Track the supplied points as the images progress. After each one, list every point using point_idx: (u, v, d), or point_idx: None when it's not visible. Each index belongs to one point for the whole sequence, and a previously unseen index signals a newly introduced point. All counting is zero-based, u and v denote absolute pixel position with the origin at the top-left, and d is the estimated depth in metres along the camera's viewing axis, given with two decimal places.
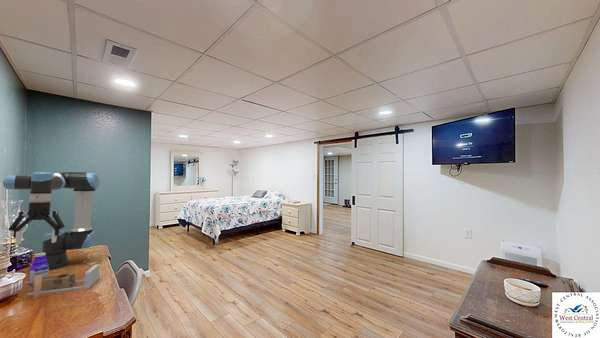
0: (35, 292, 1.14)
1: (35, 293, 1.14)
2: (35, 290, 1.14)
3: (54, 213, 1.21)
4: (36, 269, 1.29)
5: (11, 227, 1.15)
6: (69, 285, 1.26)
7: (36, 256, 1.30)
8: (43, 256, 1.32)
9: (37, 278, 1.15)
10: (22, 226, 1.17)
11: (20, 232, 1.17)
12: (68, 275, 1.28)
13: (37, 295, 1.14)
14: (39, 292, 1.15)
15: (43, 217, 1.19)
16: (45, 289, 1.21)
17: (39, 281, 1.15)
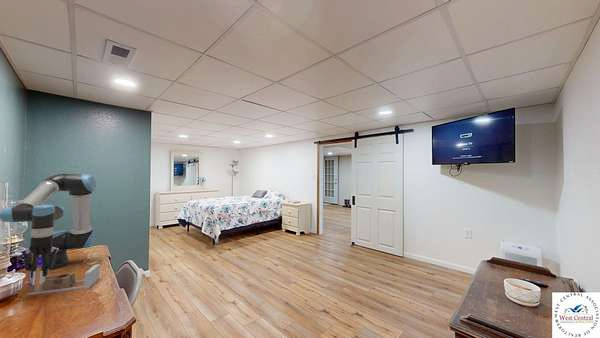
0: (36, 282, 1.15)
1: (36, 283, 1.15)
2: (36, 281, 1.15)
3: (54, 251, 1.17)
4: None
5: (26, 267, 1.13)
6: (69, 285, 1.26)
7: None
8: None
9: (38, 269, 1.15)
10: (35, 264, 1.15)
11: None
12: (68, 275, 1.28)
13: (38, 285, 1.15)
14: None
15: (42, 253, 1.15)
16: (45, 289, 1.21)
17: None
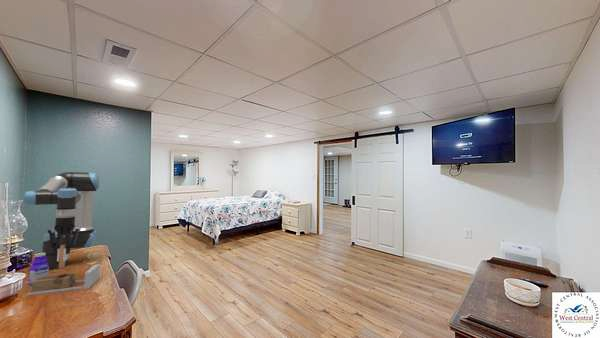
0: (60, 259, 1.25)
1: (60, 260, 1.25)
2: (60, 257, 1.25)
3: (76, 231, 1.28)
4: (36, 269, 1.29)
5: (52, 245, 1.24)
6: (69, 285, 1.26)
7: (36, 256, 1.30)
8: (43, 256, 1.32)
9: (62, 247, 1.26)
10: (59, 242, 1.26)
11: None
12: (68, 275, 1.28)
13: (62, 262, 1.26)
14: None
15: (66, 232, 1.26)
16: (45, 289, 1.21)
17: None
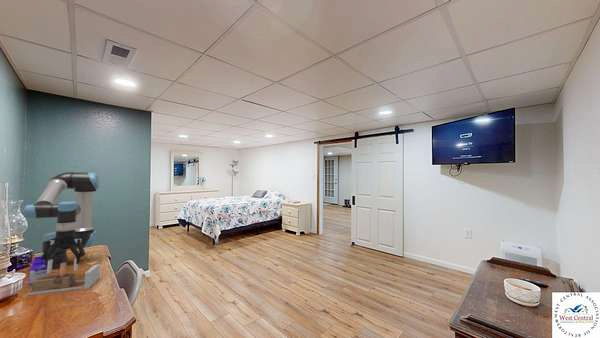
0: None
1: None
2: (60, 276, 1.25)
3: (79, 241, 1.29)
4: (36, 269, 1.29)
5: (43, 256, 1.23)
6: (69, 285, 1.26)
7: (36, 256, 1.30)
8: None
9: (62, 265, 1.26)
10: (52, 254, 1.25)
11: (51, 261, 1.25)
12: (68, 275, 1.28)
13: None
14: None
15: (68, 245, 1.27)
16: (45, 289, 1.21)
17: (64, 268, 1.26)
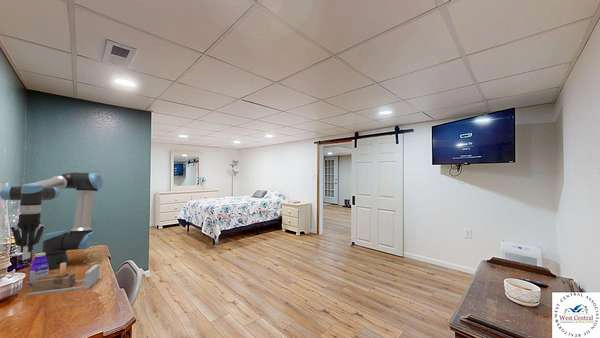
0: None
1: None
2: (60, 276, 1.25)
3: (41, 228, 1.23)
4: (36, 269, 1.29)
5: (17, 242, 1.19)
6: (69, 285, 1.26)
7: (36, 256, 1.30)
8: (43, 256, 1.32)
9: (62, 265, 1.26)
10: (25, 239, 1.21)
11: None
12: (68, 275, 1.28)
13: None
14: None
15: (30, 229, 1.21)
16: (45, 289, 1.21)
17: (64, 268, 1.26)
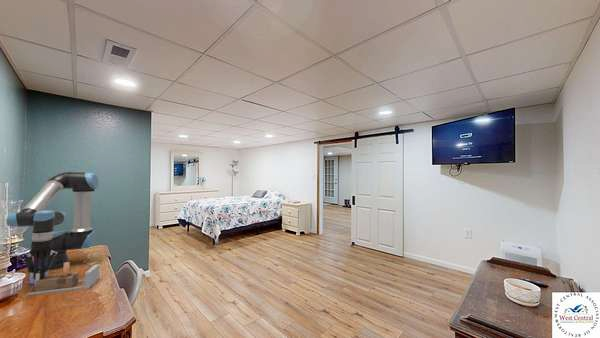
0: None
1: None
2: (64, 276, 1.26)
3: (53, 255, 1.24)
4: None
5: (29, 269, 1.21)
6: (72, 284, 1.27)
7: None
8: None
9: (65, 265, 1.26)
10: (37, 266, 1.22)
11: None
12: (71, 275, 1.28)
13: None
14: None
15: (42, 256, 1.22)
16: (49, 289, 1.21)
17: (67, 267, 1.27)
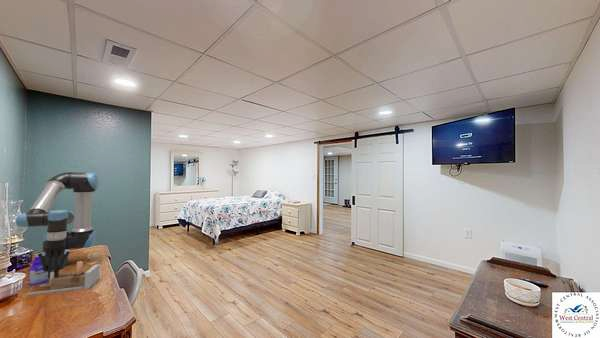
0: None
1: None
2: (77, 274, 1.28)
3: (67, 254, 1.27)
4: (36, 269, 1.29)
5: (44, 268, 1.23)
6: None
7: (36, 256, 1.30)
8: None
9: (79, 264, 1.29)
10: (52, 265, 1.25)
11: None
12: (84, 273, 1.30)
13: None
14: None
15: (56, 255, 1.25)
16: (63, 287, 1.23)
17: (80, 266, 1.29)
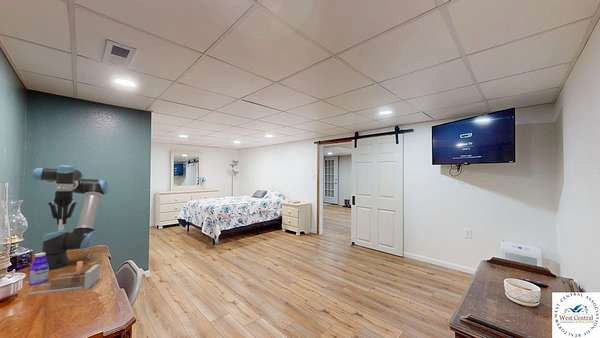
0: None
1: None
2: (77, 274, 1.28)
3: (74, 204, 1.42)
4: (36, 269, 1.29)
5: (53, 215, 1.38)
6: None
7: (36, 256, 1.30)
8: (43, 256, 1.32)
9: (79, 264, 1.29)
10: (60, 213, 1.40)
11: None
12: None
13: None
14: None
15: (64, 204, 1.39)
16: (63, 287, 1.24)
17: (80, 266, 1.29)
